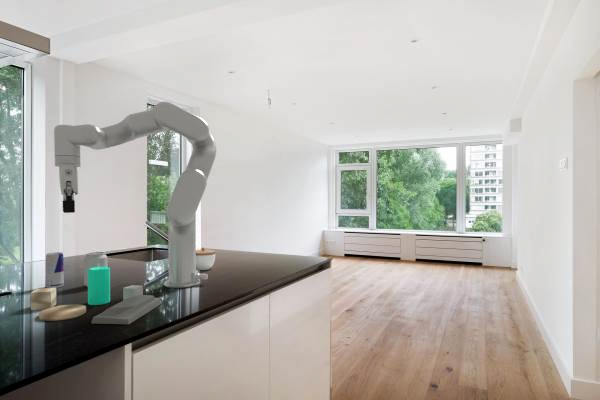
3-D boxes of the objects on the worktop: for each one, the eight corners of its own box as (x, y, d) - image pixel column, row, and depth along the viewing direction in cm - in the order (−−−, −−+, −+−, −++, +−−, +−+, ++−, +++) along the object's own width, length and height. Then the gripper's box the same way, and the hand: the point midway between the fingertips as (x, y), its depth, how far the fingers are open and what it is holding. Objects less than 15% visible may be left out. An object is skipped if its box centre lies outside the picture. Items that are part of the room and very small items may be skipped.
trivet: (93, 308, 111) (93, 304, 111) (72, 320, 100) (72, 315, 100) (54, 308, 111) (54, 304, 111) (29, 321, 100) (29, 316, 100)
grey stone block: (142, 298, 122) (142, 285, 122) (133, 301, 119) (133, 288, 119) (132, 297, 124) (132, 285, 124) (123, 300, 120) (123, 287, 120)
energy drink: (67, 285, 140) (66, 252, 140) (52, 289, 135) (51, 254, 135) (57, 284, 142) (57, 251, 142) (42, 287, 137) (42, 253, 137)
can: (97, 288, 136) (97, 254, 136) (79, 287, 137) (78, 253, 137) (112, 283, 143) (111, 251, 143) (94, 282, 145) (94, 250, 145)
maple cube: (56, 304, 116) (56, 287, 116) (51, 308, 112) (50, 291, 112) (37, 305, 115) (36, 288, 115) (30, 310, 110) (30, 292, 110)
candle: (95, 306, 114) (94, 265, 114) (83, 303, 117) (83, 263, 117) (114, 301, 119) (113, 262, 119) (103, 298, 122) (102, 260, 122)
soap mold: (90, 325, 98) (90, 311, 98) (131, 303, 118) (131, 292, 118) (129, 326, 97) (128, 312, 97) (164, 304, 117) (163, 293, 117)
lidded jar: (192, 266, 177) (192, 246, 177) (216, 266, 178) (216, 245, 178) (188, 271, 167) (188, 249, 166) (214, 270, 168) (214, 249, 168)
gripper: (82, 160, 126) (82, 212, 127) (78, 164, 141) (79, 211, 141) (54, 159, 122) (55, 213, 123) (54, 163, 137) (55, 211, 137)
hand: (68, 212), depth 132 cm, fingers open, 9 cm apart
